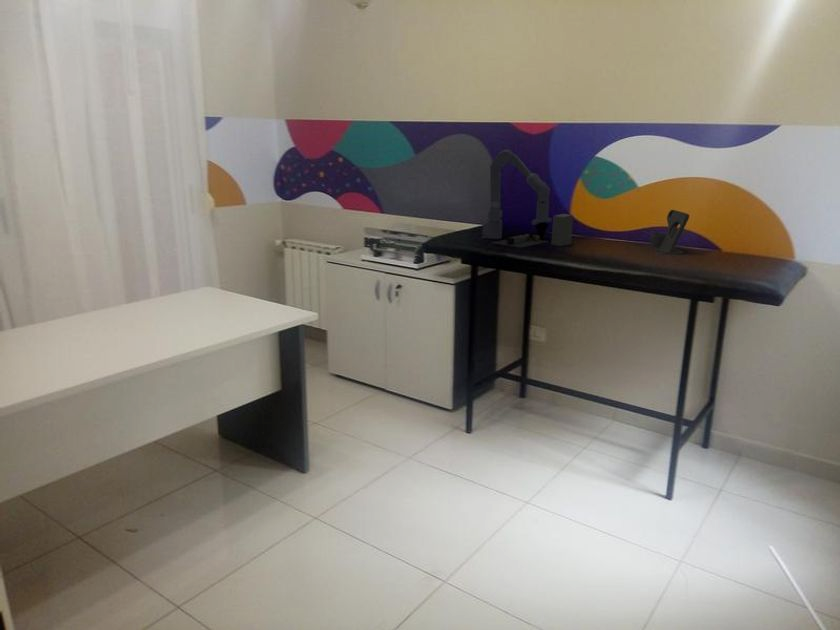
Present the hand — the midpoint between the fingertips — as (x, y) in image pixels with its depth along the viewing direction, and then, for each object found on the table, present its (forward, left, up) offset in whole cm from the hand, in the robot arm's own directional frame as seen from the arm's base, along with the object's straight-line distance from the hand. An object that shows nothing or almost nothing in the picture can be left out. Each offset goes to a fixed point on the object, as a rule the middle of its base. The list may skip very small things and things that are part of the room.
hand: (540, 237), depth 303 cm
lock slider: (0, -4, -1) cm, 5 cm away
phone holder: (+55, +22, -2) cm, 59 cm away
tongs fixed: (-3, -15, -1) cm, 15 cm away
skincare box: (+14, -4, -2) cm, 15 cm away
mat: (-3, -13, -2) cm, 13 cm away
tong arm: (-2, -16, -1) cm, 17 cm away
